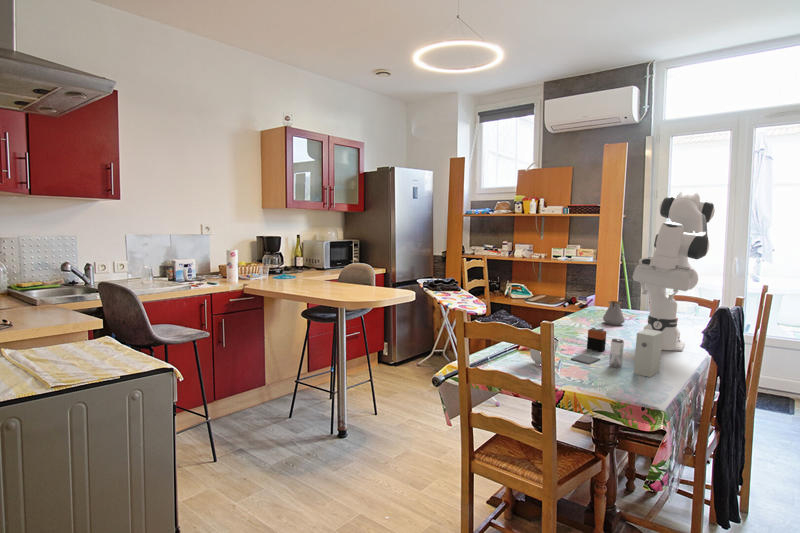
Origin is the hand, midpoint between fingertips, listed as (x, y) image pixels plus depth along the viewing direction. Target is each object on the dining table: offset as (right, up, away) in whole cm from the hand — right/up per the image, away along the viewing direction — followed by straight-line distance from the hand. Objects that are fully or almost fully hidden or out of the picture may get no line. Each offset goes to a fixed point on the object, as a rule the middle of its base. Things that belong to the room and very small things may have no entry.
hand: (657, 296), depth 187 cm
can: (-16, -28, +1) cm, 33 cm away
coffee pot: (+17, -22, +76) cm, 81 cm away
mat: (-25, -27, +9) cm, 38 cm away
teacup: (-46, -27, +2) cm, 54 cm away
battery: (-14, -26, +25) cm, 39 cm away
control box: (-7, -29, -5) cm, 31 cm away
